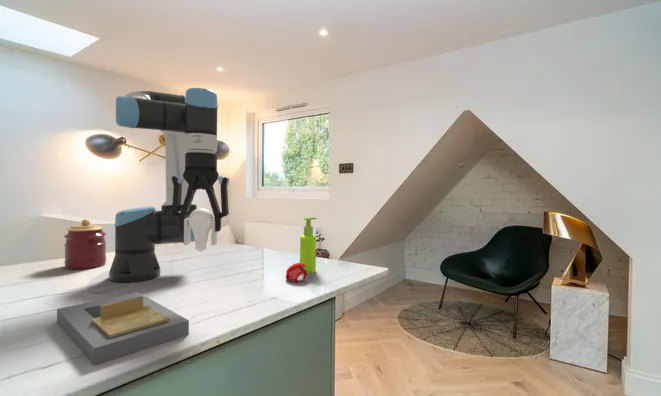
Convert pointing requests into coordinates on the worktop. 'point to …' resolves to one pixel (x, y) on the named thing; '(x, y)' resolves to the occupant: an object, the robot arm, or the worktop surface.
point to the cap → (296, 271)
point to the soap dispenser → (308, 247)
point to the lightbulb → (200, 227)
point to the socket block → (105, 348)
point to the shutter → (127, 317)
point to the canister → (85, 246)
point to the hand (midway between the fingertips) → (200, 244)
